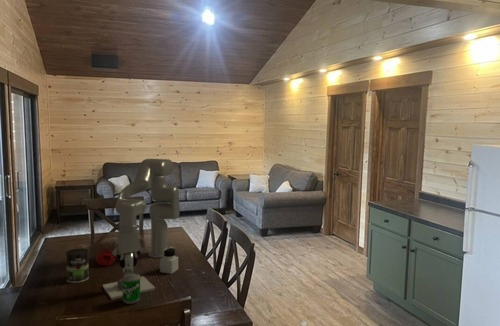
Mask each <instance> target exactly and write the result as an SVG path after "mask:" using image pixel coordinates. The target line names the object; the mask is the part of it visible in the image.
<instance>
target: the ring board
mask: <svg viewBox="0 0 500 326" xmlns="http://www.w3.org/2000/svg"><path fill="white" fill-rule="evenodd" d="M102 287H103V289H104V291H105V292H106V294H107V295H108V297H109V298H110V299H111V300H116V299H120V298H123V294H122V278H120V279H118V281H115V282H109V283H106V284H105V283H103V284H102ZM155 290H156V287H155V286H154V285H153V284H152V283H151V282H150V281H149V280H148V279H147V278H146V277H145V276H143V275H142V276H140V294H143V293H146V292H150V291H155Z"/></svg>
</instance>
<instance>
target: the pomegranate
mask: <svg viewBox="0 0 500 326" xmlns="http://www.w3.org/2000/svg"><path fill="white" fill-rule="evenodd" d="M98 252H99V253H97V255H96V258H95V260H96V263H97V264H98V265H99V266H102V267H108V266H111V265H113V264H114V263H115V260H116V256H114V255H113V254H112V252H113V251H112V250H111V248H110V249H109V248H108V247H105V248H104V249H102V250H100V251H98Z"/></svg>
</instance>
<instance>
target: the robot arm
mask: <svg viewBox="0 0 500 326" xmlns="http://www.w3.org/2000/svg"><path fill="white" fill-rule="evenodd" d="M173 171H174V163H173V161H172V160H171V159H169V158H168V159H167V158H164V159H163V158H146V159H145V158H144V159H143V160H142V161H141V162H140V163H139V166H138V169H137V171H136V174H135V177H134V180H133V181H132V182H130V183H129V184H127V185H126V186H125V187H124V188H123V189H122V190H121V191H120V192H119V194H118V197H117V199H116V202H115V211H116V213H117V214H119V215H118V216H119V231H117V235H116V240H115V241H116V243H115V248H114V249H113V251H112V254H113V255H114V256H115V258H117V259H118V260H119V267H120V268H121V269H122V270H123V268H124V260H123V257H124V254H126V253H132V252H134V267H136V266H137V264H138V257H139V256H140V254H141V253H142V252H143V251H144V250H145V249H144V247H143V246H142V245H141V244H140V235H139V231H138V229H139V228H140V224H137V216H142V215H143V214H145V212H146V211H147V208H148V207H147V202H146V201H145V200H143V199H137V198H136V199H135V198H131V197H132V196H134V195H136V194H139V193H142V192H145V191H147V190H149V189H150V196H151V199H152V200H153V201H155V202H154V203H151V204H150V206H149V216H150V226H151V227H150V228H151V229H150V230H151V232H150V235H151V238H150V240H151V242H150V245H151V246H150V248H151V251H149V252H148V256H149V257H151V258H154V259H161V258H163V250H164V249H166V248H173V249H175V250H176V246H171V245H170V246H169V245H168V237H169V236H168V235H169V234H168V232H169V231H168V228H169V227H168V226H169V225H168V223H167V221H166V220H177V219H178V218H179V217H180V211H181V210H180V209H181V207H180V206H181V205H180V190H179V188H178V187H177V186H176V185H174V184H172V185H171V184H169V185H167V183H166V176H169V175H171V174H172V173H173Z"/></svg>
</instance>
